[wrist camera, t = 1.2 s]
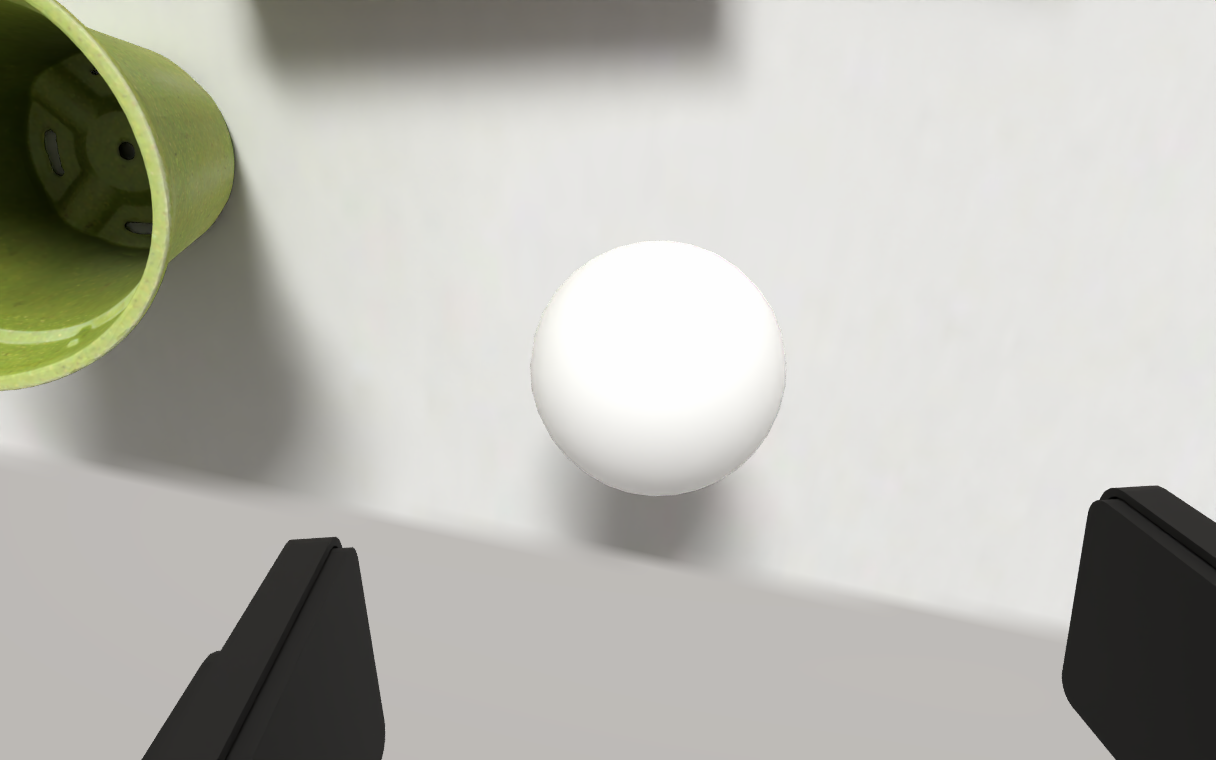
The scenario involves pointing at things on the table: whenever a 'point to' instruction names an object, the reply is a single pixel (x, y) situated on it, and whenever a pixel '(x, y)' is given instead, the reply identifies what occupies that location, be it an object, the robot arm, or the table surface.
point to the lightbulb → (658, 368)
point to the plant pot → (93, 186)
